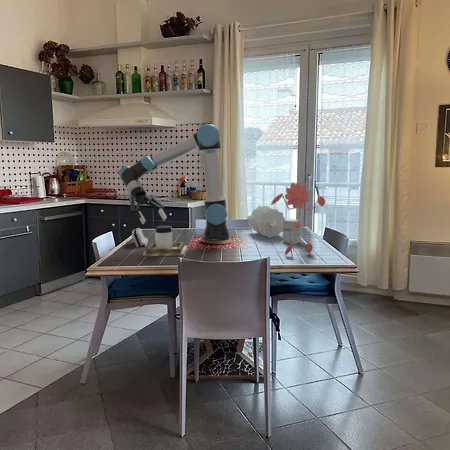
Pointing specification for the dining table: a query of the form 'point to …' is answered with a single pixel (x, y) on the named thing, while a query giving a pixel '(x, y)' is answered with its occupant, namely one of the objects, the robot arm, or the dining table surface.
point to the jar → (163, 237)
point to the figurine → (297, 198)
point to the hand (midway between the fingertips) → (155, 220)
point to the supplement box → (294, 234)
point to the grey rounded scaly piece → (266, 221)
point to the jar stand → (166, 250)
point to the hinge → (139, 237)
